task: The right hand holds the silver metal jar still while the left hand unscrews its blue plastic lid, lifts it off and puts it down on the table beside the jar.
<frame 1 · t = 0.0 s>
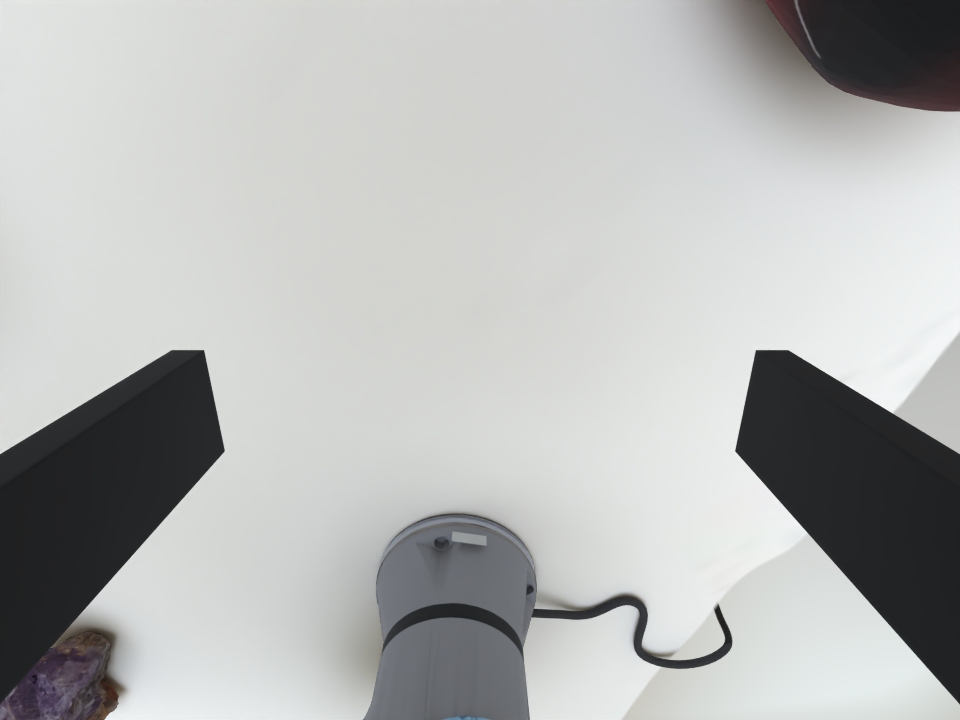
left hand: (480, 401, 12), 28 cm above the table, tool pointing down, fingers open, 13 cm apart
rock: (81, 660, 54), on the table
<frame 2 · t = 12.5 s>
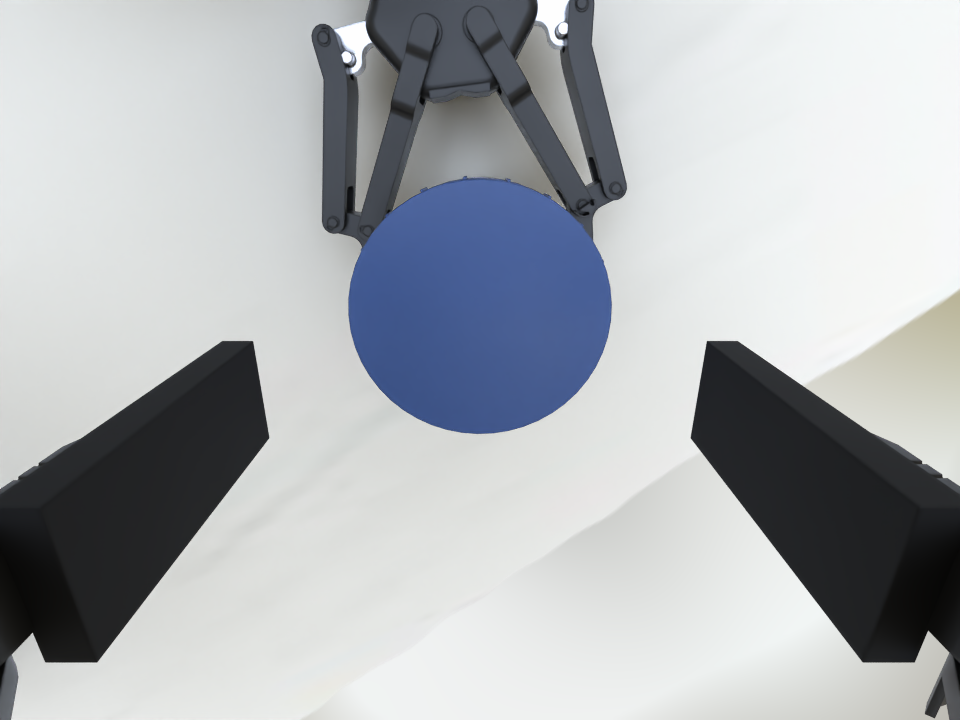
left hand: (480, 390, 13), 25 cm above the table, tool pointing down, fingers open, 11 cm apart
right hand: (488, 335, 31), fingers closed on jar, 9 cm apart
lid: (479, 315, 19), point 18 cm above the table, screwed on, not yet turned
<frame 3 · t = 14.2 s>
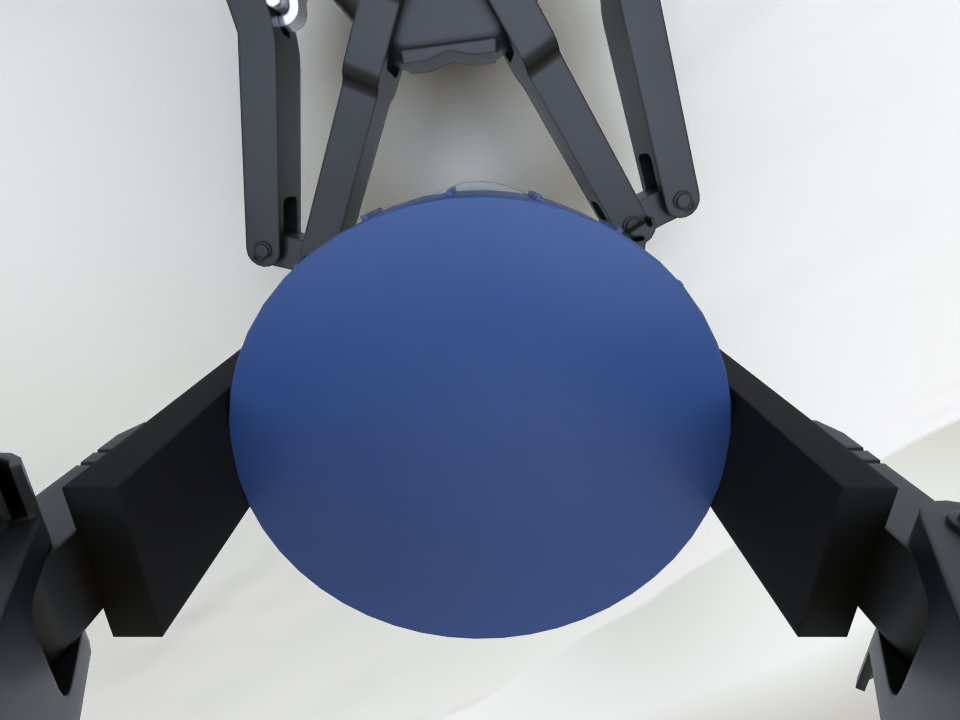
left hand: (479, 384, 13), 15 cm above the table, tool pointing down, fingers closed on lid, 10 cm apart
jar: (479, 273, 27), on the table, touching right hand
lid: (480, 447, 10), point 18 cm above the table, screwed on, not yet turned, touching left hand
when the left hand's fingers open (0 cm above the table, at t = 31.3 s): lid drops 2 cm, point 2 cm above the table.
when the right hand's fingers open (7 cm above the table, at t = 32.4 s): jar stays where it is, on the table.
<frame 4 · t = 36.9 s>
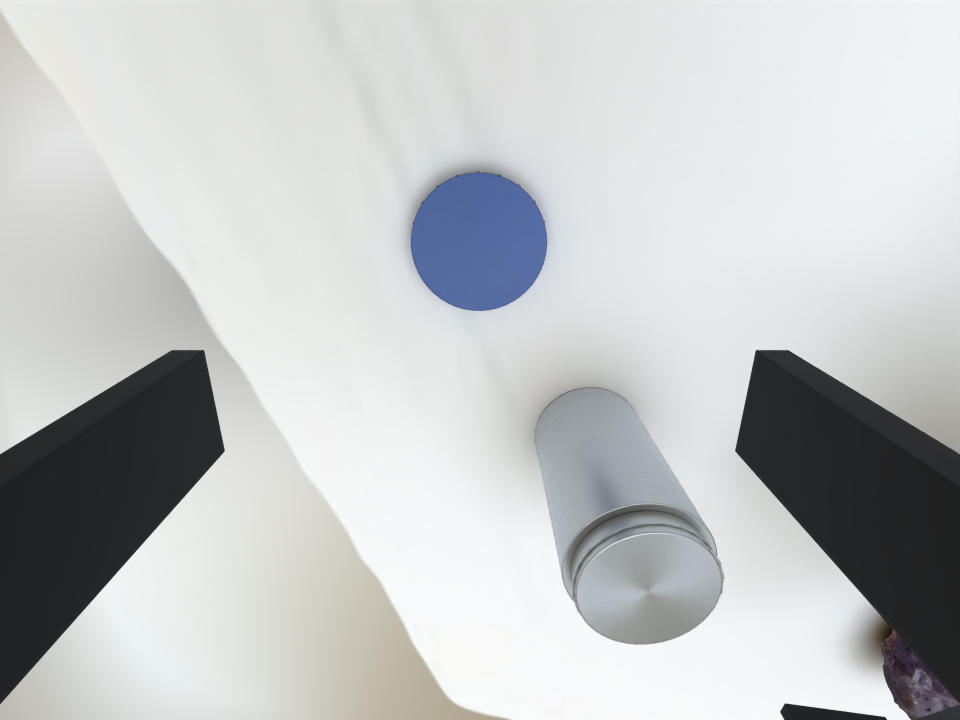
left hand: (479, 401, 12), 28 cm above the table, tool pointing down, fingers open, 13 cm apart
jar: (586, 434, 45), on the table
rock: (904, 638, 54), on the table
lid: (478, 244, 37), point 2 cm above the table, off its thread
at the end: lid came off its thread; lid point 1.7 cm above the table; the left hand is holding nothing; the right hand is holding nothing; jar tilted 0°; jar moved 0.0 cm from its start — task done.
